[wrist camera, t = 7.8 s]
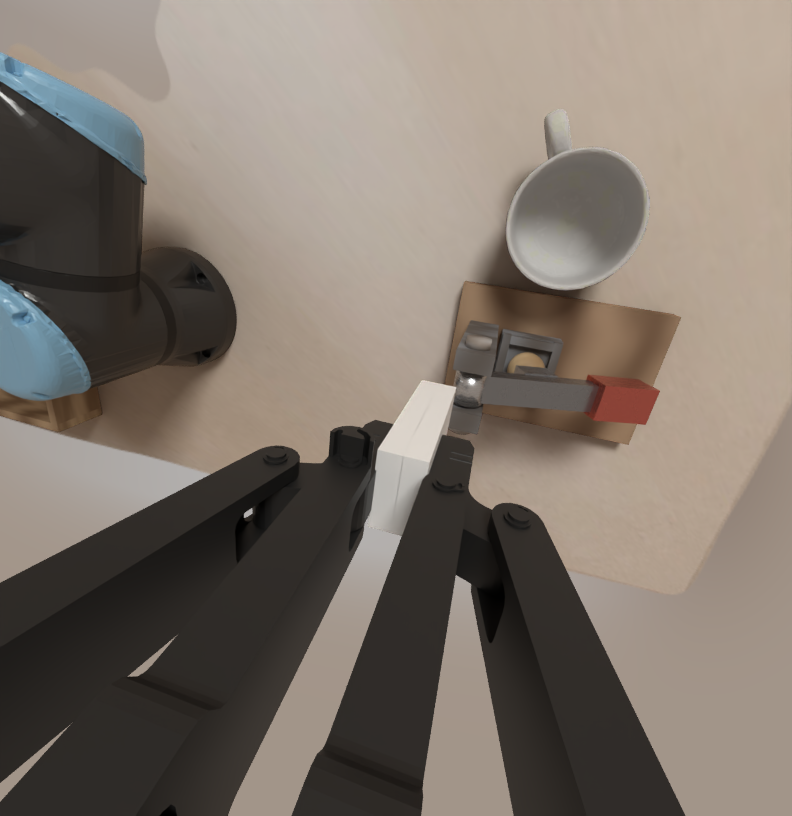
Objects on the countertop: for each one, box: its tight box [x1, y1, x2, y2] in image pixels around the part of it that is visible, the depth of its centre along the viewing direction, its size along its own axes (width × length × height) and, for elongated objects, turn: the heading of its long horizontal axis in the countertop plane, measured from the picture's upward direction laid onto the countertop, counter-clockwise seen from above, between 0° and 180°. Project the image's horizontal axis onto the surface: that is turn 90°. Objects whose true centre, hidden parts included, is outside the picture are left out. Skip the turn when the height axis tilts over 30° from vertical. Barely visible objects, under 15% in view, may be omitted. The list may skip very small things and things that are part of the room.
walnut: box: [507, 352, 545, 373], centre depth 40 cm, size 4×4×4 cm
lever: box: [453, 365, 660, 425], centre depth 35 cm, size 17×3×5 cm, turn 82°
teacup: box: [506, 109, 650, 290], centre depth 36 cm, size 14×11×8 cm
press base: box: [444, 281, 681, 445], centre depth 38 cm, size 21×14×16 cm, turn 82°
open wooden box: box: [0, 387, 102, 432], centre depth 60 cm, size 24×20×7 cm
